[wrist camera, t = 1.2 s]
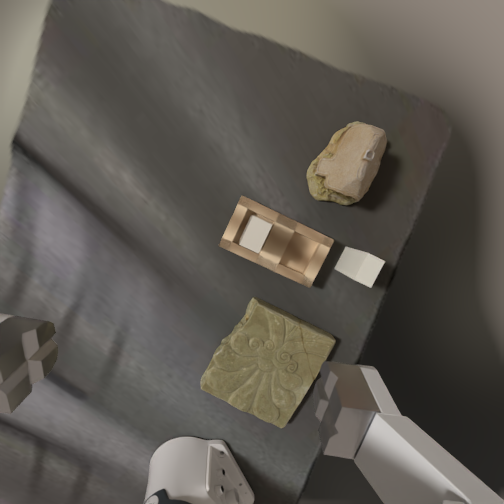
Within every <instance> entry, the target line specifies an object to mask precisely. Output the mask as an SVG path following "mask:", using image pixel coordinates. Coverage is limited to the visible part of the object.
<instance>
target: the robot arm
mask: <svg viewBox="0 0 504 504" xmlns="http://www.w3.org/2000/svg"><path fill="white" fill-rule="evenodd" d="M55 333H56V332H55V327H54V324H53V323H51V322H49V321H44V320H38V319H32V318H26V317H20V316H12V315H6V314H0V413H9V414H11V413H12V412H13V411H14V410H15V409H16V408H17V407H18V406H19V405H20V404H21V403H22V402H23V400H24V399H25V398H26V397H27V396H28V395H29V394H30V393H31V392H32V384H34V383H36V382H38V381H40V380H42V379H44V378H45V377H46V376H47V375H48V373H49V372H50V371H51V370H52V368H53V366H54V364H55V362H56V360H57V356H58V346H57V344H56V343H55V342H54V341H53V340H52V337H53V336H54V334H55ZM320 373H321V378H320V379H318V380H317V381H316V383H315V387H314V392H313V407H314V412H315V415H316V417H317V418H318V419H319V420H320V421H321V424H320V426H319V429H318V431H319V436H320V440H321V445H322V449H323V454H325V455H331V456H337V457H344V458H349V459H355V460H354V462H355V463H356V465H357V466H358V467H359V469H360V470H361V472H362V473H363V474H364V476H365V477H366V479H367V480H368V481H369V483H370V484H371V486H372V487H373V488H374V490H375V491H376V493H377V494H378V495H379V497H380V498H381V500H382V501H383V502H384V504H504V500H503V499H501V498H500V497H499V496H498V495H497V494H496V493H494V492H493V491H492V490H491V489H490V488H489V487H488V486H487V485H485V484H484V483H483V482H482V481H481V480H480V479H478V478H477V477H476V476H475V475H474V474H473V473H471V472H470V471H469V470H468V469H467V468H466V467H464V466H463V465H462V464H461V463H460V462H459V461H458V460H456V459H455V458H454V457H453V456H452V455H451V454H449V453H448V452H447V451H446V450H445V449H444V448H442V447H441V446H440V445H439V444H438V443H437V442H435V441H434V440H433V439H432V438H431V437H430V436H429V435H427V434H426V433H425V432H424V431H423V430H422V429H420V428H419V427H418V426H417V425H416V424H414V423H413V422H412V421H411V420H410V419H409V418H408V417H405V416H401V414H400V412H399V410H398V408H397V407H396V405H395V403H394V401H393V399H392V397H391V395H390V394H389V392H388V390H387V388H386V386H385V384H384V382H383V381H382V379H381V377H380V375H379V373H378V371H377V370H376V369H375V368H374V367H372V366H364V365H354V364H346V363H339V362H331V361H324V362H323V363H322V365H321V368H320ZM221 451H223V452H221ZM253 502H254V493H253V491H252V489H251V488H250V486H249V484H248V482H247V480H246V479H245V477H244V475H243V473H242V472H241V470H240V468H239V466H238V464H237V463H236V461H235V459H234V457H233V456H232V454H231V452H230V450H229V448H228V447H227V445H226V443H225V442H224V441H223V440H203V439H200V438H196V437H179V438H175V439H172V440H169V441H167V442H166V443H164V444H163V445H161V446H160V447H159V448H158V449H157V450H156V451H155V453H154V454H153V456H152V459H151V461H150V467H149V479H148V485H147V491H146V496H145V501H144V504H253Z"/></svg>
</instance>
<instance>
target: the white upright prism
mask: <svg viewBox="0 0 504 504" xmlns="http://www.w3.org/2000/svg"><path fill="white" fill-rule="evenodd" d="M271 227H272V224H270V223H268V222H266V221H264V220H262V219H260V218H257V217H255V216H253V215H251V216H250V218H249V221H248V223H247V225H246V227H245V229H244V231H243V233H242V236H241V238H240V242H239V245H241V246H243V247H245V248H247V249H250V250H252V251H254V252H256V253H258V254H259V252H260V250H261V248H262V246H263V244H264V242H265V239H266V237H267V235H268V233H269V231H270V229H271Z"/></svg>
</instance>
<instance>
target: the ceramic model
mask: <svg viewBox="0 0 504 504" xmlns="http://www.w3.org/2000/svg"><path fill="white" fill-rule="evenodd" d="M386 143H387V139H386V134H385V132H384V130H382V129H380V128H377V127H375V126H372V125H367V124H365V123H363V122H358V121H357V122H353V123H349V124H348V125H347V126H346V127H345V128H343V129H341V130H339V131H337V132H336V133H335V134H334V135H333V137H332V138H331V140H330V142H329V145H328V146H327V147H326V148H325V149H324V150H323V152H322V153H321V154H320V155H319V156H318V157H317V158H316V159H315V160H314V161H313V162H312V163H311V165H310V167H309V168H308V170H307V180H308V181H307V182H308V185H309V191H310V193H311V195H312V196H313V197H314V198H315V199H316V200H318V201H320V200H325V201H333V202H336V203H338V204H341V205H350V204H352V203H354V202H357V201H359V200H360V199H361V198H362V197H363V196H364V194H365V193H366V192H367V191H368V190H369V187H370V185H371V182H372V181H373V179H374V177H375V176H376V174H377V172H378V169H379V166H380V161H381V158H382V156H383V153H384V151H385V148H386Z"/></svg>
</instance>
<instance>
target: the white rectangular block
mask: <svg viewBox="0 0 504 504" xmlns="http://www.w3.org/2000/svg"><path fill="white" fill-rule="evenodd" d="M384 263H385V261H383V260H381V259H379V258H377V257H375V256H373V255H371V254H369V253H366V252H363V251H359V250H356V249H353V248H349V247H345V249H344V251H343V253H342V255H341V257H340V259H339V261H338V263H337V265H336V267H335V269H336V270H337V271H339V272H341V273H343V274H345V275H346V276H348V277H350V278H352V279H353V280H356V281H358V282H360V283H362V284H364V285H366V286H368V287H370V288H371V287H372V285H373V283H374V281H375V279H376V278H377V276H378V274H379V272H380V270H381V268H382V266H383V264H384Z"/></svg>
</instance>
